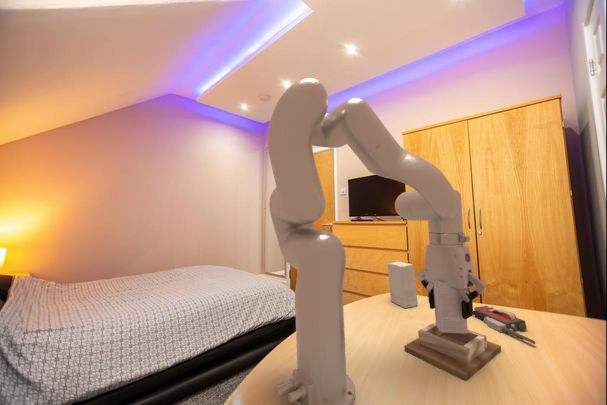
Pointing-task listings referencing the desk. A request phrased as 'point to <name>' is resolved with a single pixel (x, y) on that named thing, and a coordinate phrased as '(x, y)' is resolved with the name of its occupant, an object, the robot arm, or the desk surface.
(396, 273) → the skincare box
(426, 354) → the socket board
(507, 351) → the desk surface
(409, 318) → the desk surface
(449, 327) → the skincare box
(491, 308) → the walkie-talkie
